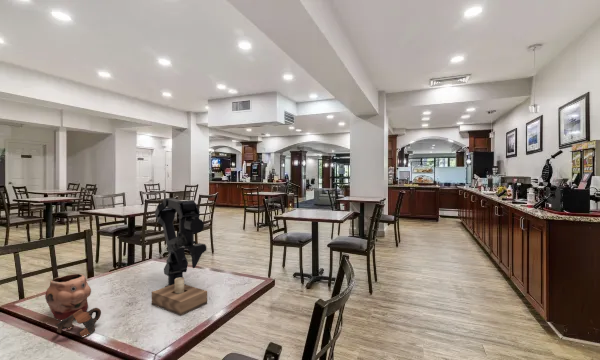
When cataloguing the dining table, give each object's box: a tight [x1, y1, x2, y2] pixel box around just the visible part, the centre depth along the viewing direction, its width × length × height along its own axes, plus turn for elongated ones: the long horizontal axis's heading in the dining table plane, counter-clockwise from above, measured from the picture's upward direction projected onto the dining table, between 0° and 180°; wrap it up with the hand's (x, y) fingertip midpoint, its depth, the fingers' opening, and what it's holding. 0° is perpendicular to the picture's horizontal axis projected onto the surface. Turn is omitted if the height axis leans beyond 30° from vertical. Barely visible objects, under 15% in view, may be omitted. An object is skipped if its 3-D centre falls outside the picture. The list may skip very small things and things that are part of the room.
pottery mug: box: [55, 307, 102, 336], centre depth 96 cm, size 12×10×8 cm
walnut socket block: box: [151, 283, 208, 316], centre depth 116 cm, size 18×12×5 cm, turn 58°
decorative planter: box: [44, 273, 92, 321], centre depth 107 cm, size 20×12×14 cm, turn 66°
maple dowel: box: [175, 276, 185, 294], centre depth 116 cm, size 4×4×9 cm
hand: (186, 266), depth 126 cm, fingers open, 9 cm apart
